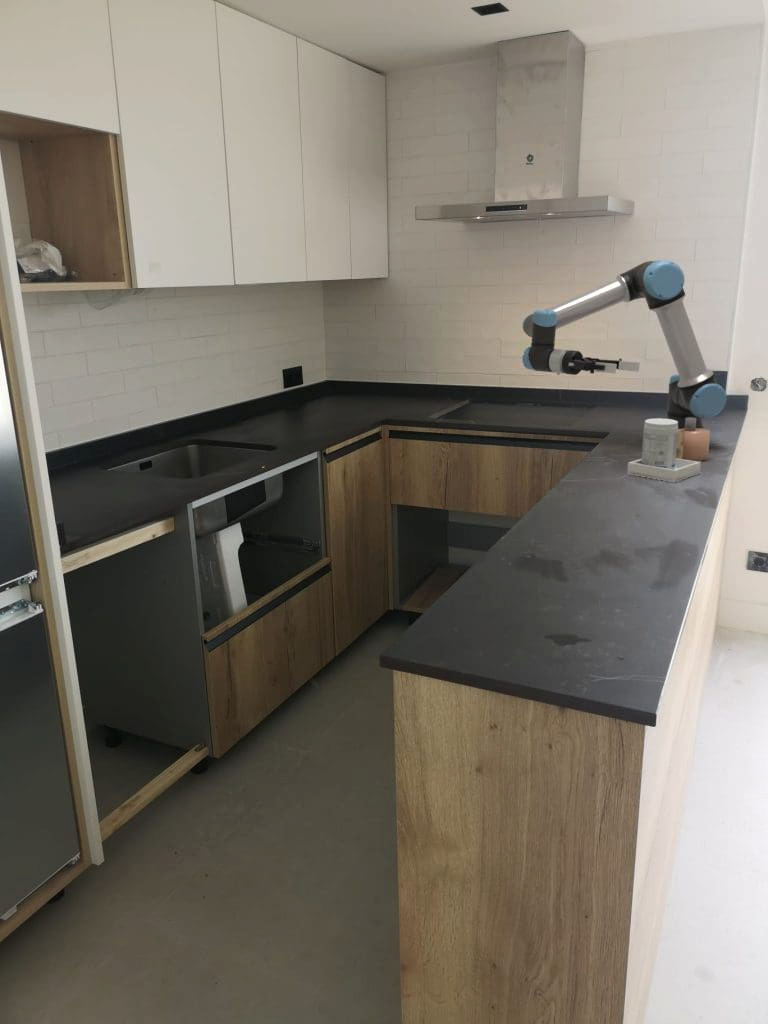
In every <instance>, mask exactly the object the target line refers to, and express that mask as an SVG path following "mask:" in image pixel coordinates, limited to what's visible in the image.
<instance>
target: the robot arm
mask: <svg viewBox="0 0 768 1024" xmlns="http://www.w3.org/2000/svg"><path fill="white" fill-rule="evenodd" d="M684 284H685V275H684V271H683V270H682V268H681V267H680V266H679V265H678V264H677V263H676V262H673V261H671V260H668V259H667V260H666V259H660V260H649V261H645V262H642V263H639V264H638V265H636V266H634V267H633V268H630V269H628V270H627V271H624V272H622V273H620V274H618V275H616V277H615V279H614V280H611V281H609V282H607V283H605V284H603V285H599V286H597V287H596V288H593V289H591V290H589V291H586V292H584V293H582V294H580V295H576V296H574V297H572V298H570V299H567V300H565V301H562V302H560V303H557V304H556V305H553V306H551V307H549V308H547V309H537V310H534V312H533V313H531V314H529V315H527V316H526V317H525V318H523V322H522V330H523V332H524V333H525V334H526V335H527V336H528V337H530V338H531V344H530V346H528V347H526V348H525V350H524V351H523V354H522V356H521V357H522V358H521V359H522V364H523V366H524V367H525V369H527V370H530V371H531V370H532V371H535V372H544V373H545V372H546V373H556V375H557V376H559V375H561V374H564V375H565V374H566V375H571V376H572V375H573V376H576V375H578V374H579V373H581V371H584V372H589V374H595V372H596V373H607V374H617V370H618V371H627V372H639V371H640V362H636V361H627V360H626V361H625V360H622V358H619V359H618V360H614V359H613V360H612V359H600V358H596V357H595V358H594V357H589V356H585V357H584V356H583V354H582V352H581V351H579V350H574V349H573V350H571V349H563V348H562V349H561V348H555V344H556V342H555V341H556V333H557V331H556V330H557V329H560V328H563V327H565V326H567V325H569V324H572V323H574V322H577V321H579V320H582V319H583V318H586V317H589V316H591V315H593V314H596V313H598V312H600V311H603V310H605V309H607V308H610V307H613V306H615V305H617V304H619V303H622V302H625V303H630V302H632V301H635V300H638V299H639V300H640V299H645V301H646V303H647V306H648V309H649V311H651V312H654V313H655V314H656V316H657V319H658V322H659V324H660V327H661V330H662V333H663V335H664V339H665V340H666V344H667V346H668V349H669V352H670V355H671V357H672V359H673V363H674V365H675V367H676V370H677V373H678V374H673V375H671V376H670V378H669V383H668V394H667V395H668V396H667V406H666V407H667V408H666V418H665V419H672V420H676V421H677V422H678V429H682V428H685V420H686V417H694V418H697V419H696V428H702V429H705V428H704V423H703V419H710V418H713V417H716V416H718V414H720V413H721V412H722V410H723V409H724V408H725V406H726V403H727V393H726V390H725V389H724V388H723V387H722V386H721V385H720V384H718V382H717V379H716V376H715V374H714V371H713V370H710V369H709V368H707V366H706V363H705V360H704V357H703V354H702V352H701V350H700V346H699V344H698V341H697V338H696V335H695V333H694V329H693V327H692V324H691V321H690V318H689V316H688V313H687V311H686V308H685V304H684V300H685V297H686V292H685V290H684Z"/></svg>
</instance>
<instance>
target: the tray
mask: <svg viewBox="0 0 768 1024" xmlns="http://www.w3.org/2000/svg"><path fill="white" fill-rule="evenodd" d="M641 461H642V458H640V459H639V458H638V459H636V460H633V461H630V462H628V463H627V474H626V475H628V474H629V475H630V476H634V475H635V476H634V477H639V476H641V477H640V478H645V477H647V479H650V478H652V479H651V480H656V479H657V480H658V481H661V480H663V481H662V482H667V481H668V483H672V484H675V482H676V483H678V482H680V481H684V480H686V478H687V479H689V478H688V477H690V478H692V477H694V475H695V476H697V474H698V475H700V474H701V466H702V465H701V463H702V461H690V460H684V459H677V458H676V460H675V469H674V470H673V469H667V468H661V467H655V466H649V465H643V464H641ZM629 475H628V476H629ZM691 476H692V477H691ZM683 479H684V480H683ZM657 480H656V481H657Z"/></svg>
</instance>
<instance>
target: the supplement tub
mask: <svg viewBox="0 0 768 1024" xmlns="http://www.w3.org/2000/svg"><path fill="white" fill-rule="evenodd" d="M642 434H643V435H642V446H641V447H642V450H641V459H642V461H641V464H643V465H649V466H655V467H661V468H667V469H673V470H674V469H675V460H676V448H677V436H678V422H677V421H676V420H672V419H666V418H661V417H660V418H659V417H658V418H648V419H645V420H644V425H643V433H642Z"/></svg>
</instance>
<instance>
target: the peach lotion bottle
mask: <svg viewBox="0 0 768 1024" xmlns="http://www.w3.org/2000/svg"><path fill="white" fill-rule="evenodd" d="M696 419H697V418H694V417H686V420H685V428H682V429H684V430H685V433H684V444H683V455H682V459H684V460H690V461H696V462H703V461H702V460H705V461H707V460H708V458H709V450H710V449H709V448H710V441H711V440H710V438H711V430H710V429H707V428H704V429H702V428H696Z"/></svg>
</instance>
